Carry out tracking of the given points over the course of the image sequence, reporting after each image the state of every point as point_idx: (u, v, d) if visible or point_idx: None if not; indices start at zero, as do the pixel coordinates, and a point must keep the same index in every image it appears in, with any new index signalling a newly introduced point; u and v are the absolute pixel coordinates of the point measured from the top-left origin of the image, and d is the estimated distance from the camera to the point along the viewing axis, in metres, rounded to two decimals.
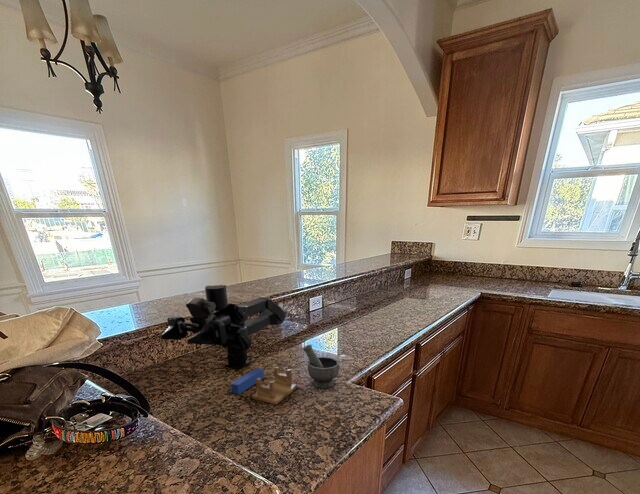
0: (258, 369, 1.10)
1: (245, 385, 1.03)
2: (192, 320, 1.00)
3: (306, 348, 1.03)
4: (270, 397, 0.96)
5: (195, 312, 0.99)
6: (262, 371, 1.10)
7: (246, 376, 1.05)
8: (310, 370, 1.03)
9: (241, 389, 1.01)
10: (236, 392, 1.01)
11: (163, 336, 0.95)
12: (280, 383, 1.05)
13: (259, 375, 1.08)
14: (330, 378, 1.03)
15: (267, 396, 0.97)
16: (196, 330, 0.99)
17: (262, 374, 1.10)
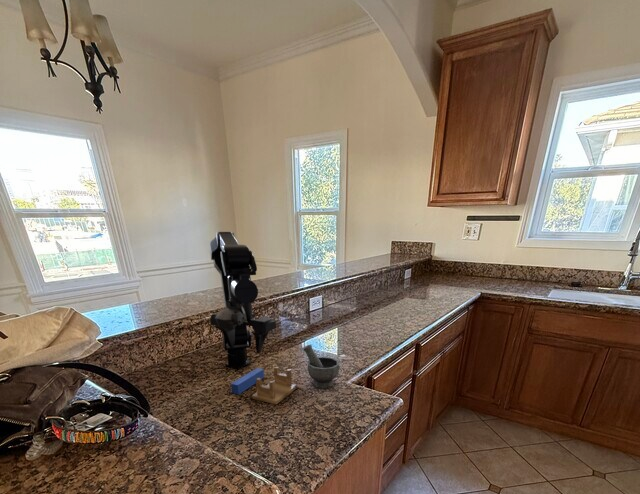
0: (258, 369, 1.10)
1: (245, 385, 1.03)
2: None
3: (306, 348, 1.03)
4: (270, 397, 0.96)
5: None
6: (262, 371, 1.10)
7: (246, 376, 1.05)
8: (310, 370, 1.03)
9: (241, 389, 1.01)
10: (236, 392, 1.01)
11: (232, 346, 1.03)
12: (280, 383, 1.05)
13: (259, 375, 1.08)
14: (330, 378, 1.03)
15: (267, 396, 0.97)
16: None
17: (262, 374, 1.10)
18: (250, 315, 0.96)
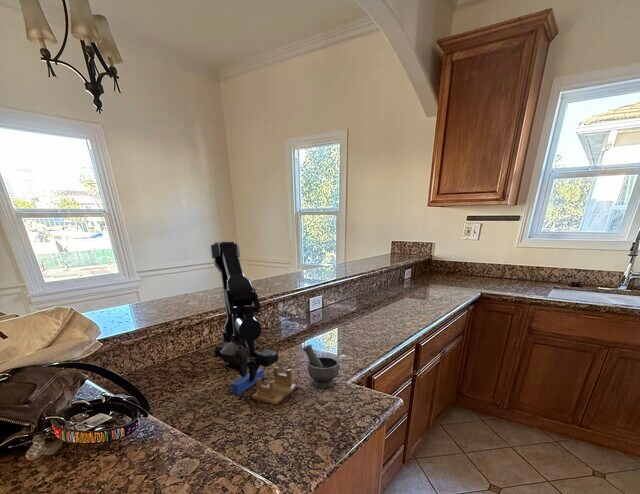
0: (258, 369, 1.10)
1: (245, 385, 1.03)
2: None
3: (306, 348, 1.03)
4: (270, 397, 0.96)
5: None
6: (262, 371, 1.10)
7: (246, 376, 1.05)
8: (310, 370, 1.03)
9: (241, 389, 1.01)
10: (236, 392, 1.01)
11: None
12: (280, 383, 1.05)
13: (259, 375, 1.08)
14: (330, 378, 1.03)
15: (267, 396, 0.97)
16: None
17: (262, 374, 1.10)
18: (253, 348, 1.00)
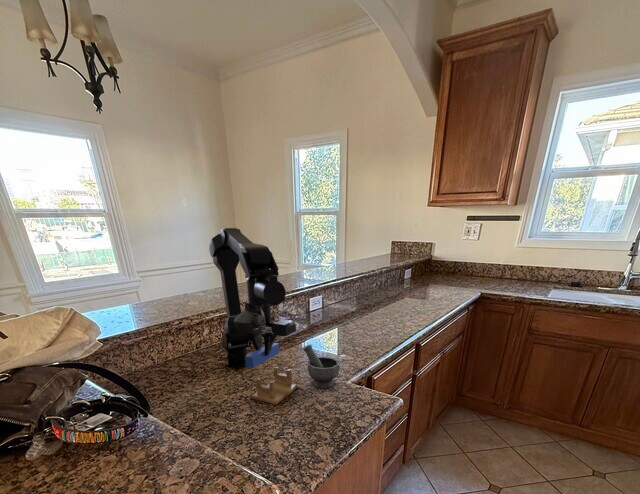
0: (273, 343, 1.02)
1: (260, 358, 0.95)
2: None
3: (306, 348, 1.03)
4: (270, 397, 0.96)
5: None
6: (277, 345, 1.02)
7: (261, 349, 0.97)
8: (310, 370, 1.03)
9: (256, 362, 0.94)
10: (251, 365, 0.93)
11: None
12: (280, 383, 1.05)
13: (274, 349, 1.01)
14: (330, 378, 1.03)
15: (267, 396, 0.97)
16: None
17: (277, 349, 1.03)
18: (269, 318, 0.93)
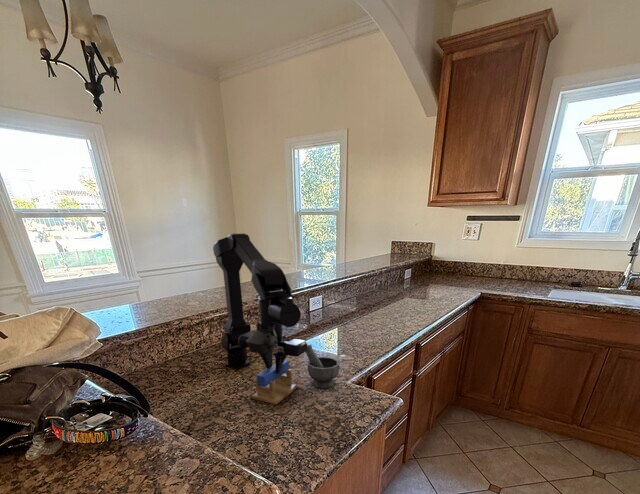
0: None
1: (271, 377, 0.96)
2: None
3: None
4: (270, 397, 0.96)
5: None
6: (288, 363, 1.03)
7: (272, 367, 0.98)
8: (310, 370, 1.03)
9: (267, 381, 0.95)
10: (262, 384, 0.94)
11: None
12: (280, 383, 1.05)
13: (285, 367, 1.02)
14: (330, 378, 1.03)
15: (267, 396, 0.97)
16: None
17: (287, 366, 1.03)
18: (281, 337, 0.93)
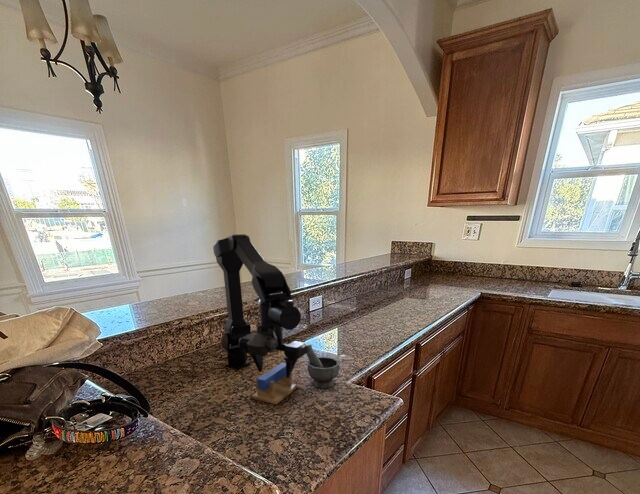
0: (283, 364, 1.03)
1: (271, 380, 0.96)
2: None
3: None
4: (270, 397, 0.96)
5: None
6: None
7: (272, 371, 0.98)
8: (310, 370, 1.03)
9: (268, 385, 0.95)
10: (263, 388, 0.94)
11: (260, 370, 1.00)
12: (280, 383, 1.05)
13: (285, 370, 1.02)
14: (330, 378, 1.03)
15: (267, 396, 0.97)
16: None
17: None
18: (281, 340, 0.94)
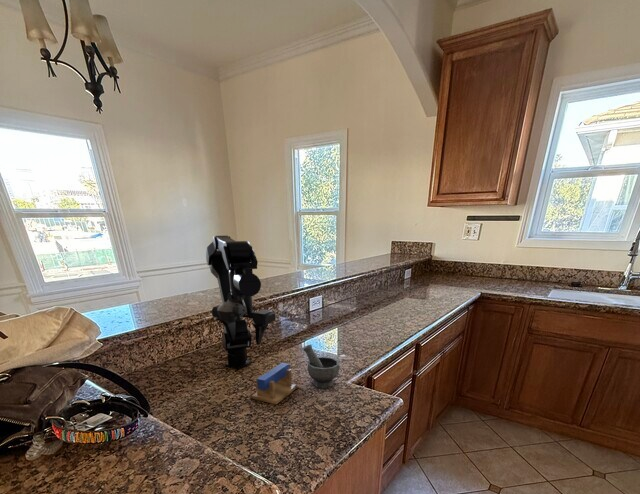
0: (283, 364, 1.03)
1: (271, 380, 0.96)
2: None
3: (306, 348, 1.03)
4: (270, 397, 0.96)
5: None
6: (288, 366, 1.03)
7: (272, 371, 0.98)
8: (310, 370, 1.03)
9: (268, 385, 0.95)
10: (263, 388, 0.94)
11: (233, 338, 1.07)
12: (280, 383, 1.05)
13: (285, 370, 1.02)
14: (330, 378, 1.03)
15: (267, 396, 0.97)
16: None
17: None
18: (250, 308, 1.00)
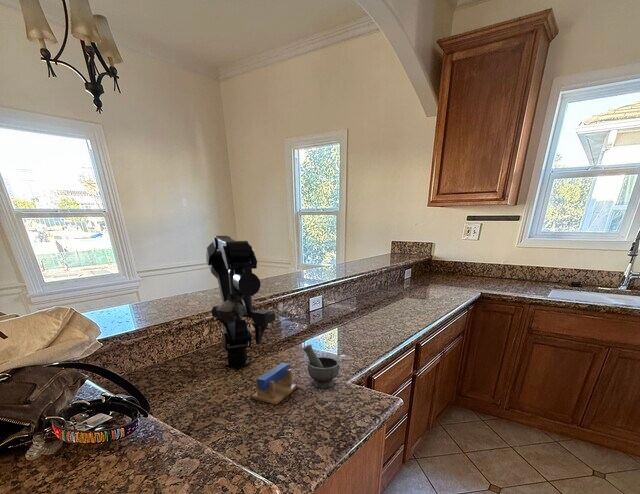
0: (283, 364, 1.03)
1: (271, 380, 0.96)
2: None
3: (306, 348, 1.03)
4: (270, 397, 0.96)
5: None
6: (288, 366, 1.03)
7: (272, 371, 0.98)
8: (310, 370, 1.03)
9: (268, 385, 0.95)
10: (263, 388, 0.94)
11: (232, 338, 1.07)
12: (280, 383, 1.05)
13: (285, 370, 1.02)
14: (330, 378, 1.03)
15: (267, 396, 0.97)
16: None
17: None
18: (250, 307, 1.00)
